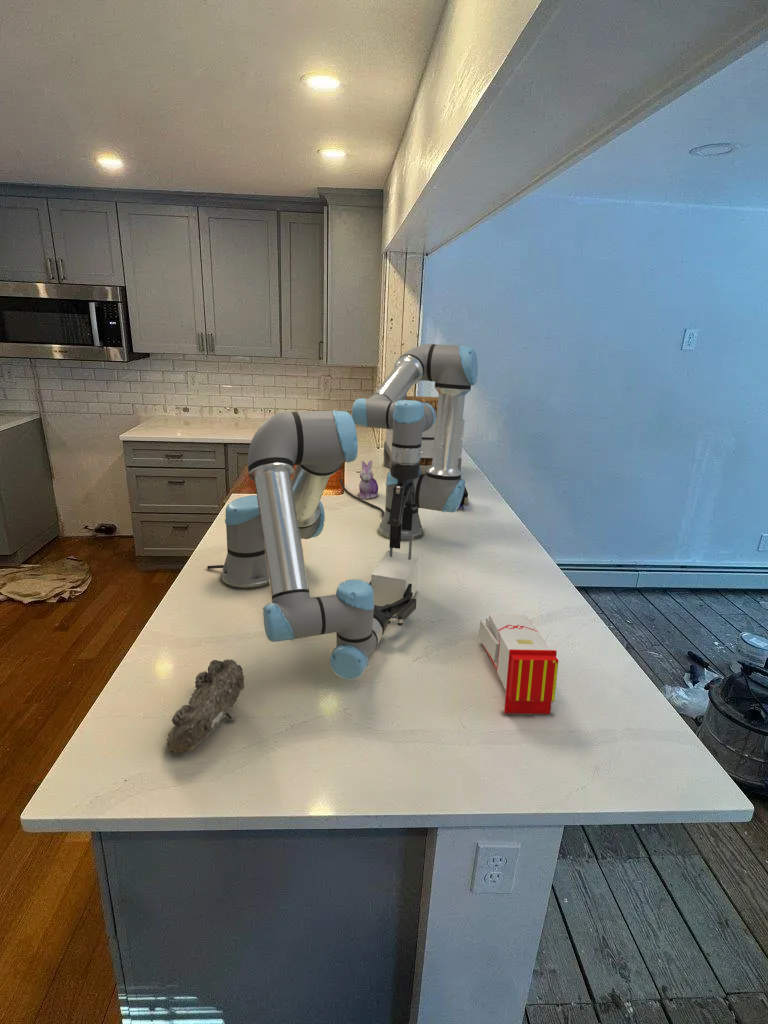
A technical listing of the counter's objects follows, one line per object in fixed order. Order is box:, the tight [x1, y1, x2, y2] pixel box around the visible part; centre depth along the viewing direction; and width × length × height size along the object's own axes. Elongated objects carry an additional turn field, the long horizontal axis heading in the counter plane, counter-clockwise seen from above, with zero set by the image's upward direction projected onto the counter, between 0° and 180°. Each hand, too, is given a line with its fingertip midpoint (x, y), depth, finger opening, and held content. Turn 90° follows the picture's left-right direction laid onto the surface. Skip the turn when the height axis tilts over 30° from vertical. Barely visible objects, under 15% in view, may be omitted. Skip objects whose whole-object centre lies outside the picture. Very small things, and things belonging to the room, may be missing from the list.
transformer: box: [383, 392, 465, 473], centre depth 268 cm, size 34×33×41 cm
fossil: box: [166, 658, 245, 754], centre depth 106 cm, size 22×10×15 cm
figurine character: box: [459, 486, 470, 511], centre depth 230 cm, size 7×8×15 cm
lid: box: [370, 533, 420, 583], centre depth 150 cm, size 16×9×8 cm, turn 165°
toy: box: [477, 613, 560, 715], centre depth 124 cm, size 12×13×30 cm
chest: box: [370, 560, 419, 616], centre depth 152 cm, size 15×9×10 cm, turn 165°
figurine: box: [358, 460, 379, 500], centre depth 236 cm, size 9×10×15 cm
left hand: (392, 585), depth 149 cm, fingers closed on chest, 9 cm apart
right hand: (400, 538), depth 153 cm, fingers open, 13 cm apart
